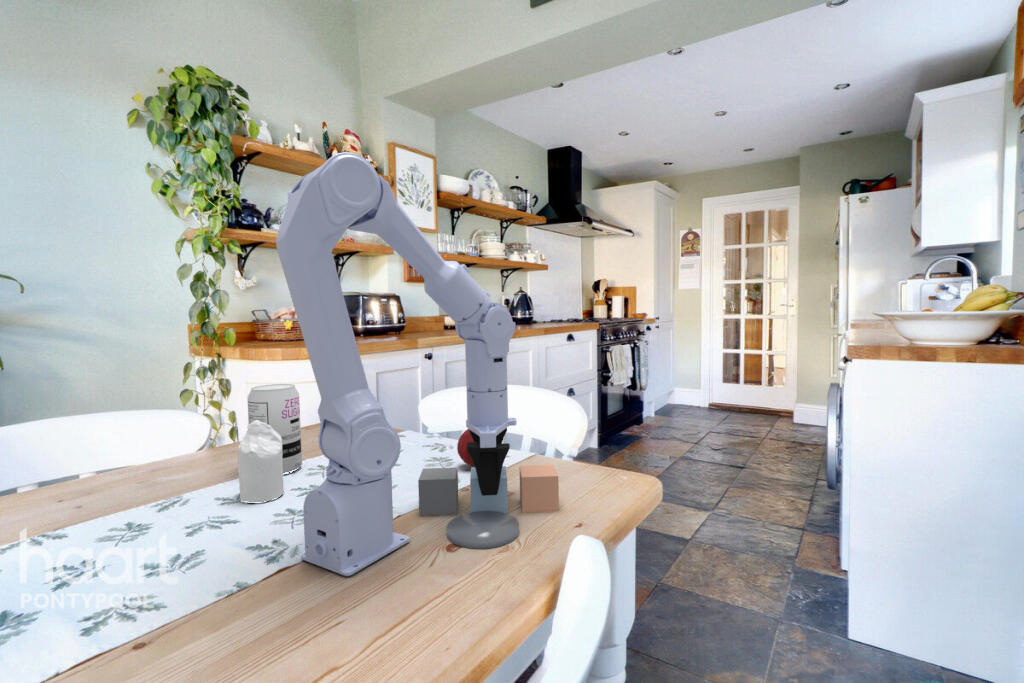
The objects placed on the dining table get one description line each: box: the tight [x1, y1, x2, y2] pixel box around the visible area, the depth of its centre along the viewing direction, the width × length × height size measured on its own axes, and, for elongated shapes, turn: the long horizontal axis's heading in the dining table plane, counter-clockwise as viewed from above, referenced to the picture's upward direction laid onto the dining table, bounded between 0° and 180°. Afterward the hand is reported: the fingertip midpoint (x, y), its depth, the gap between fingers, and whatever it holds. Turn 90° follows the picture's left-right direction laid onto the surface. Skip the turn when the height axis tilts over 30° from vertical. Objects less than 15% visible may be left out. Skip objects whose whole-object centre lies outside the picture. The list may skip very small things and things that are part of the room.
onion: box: [456, 428, 475, 467], centre depth 87 cm, size 6×6×8 cm
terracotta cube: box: [519, 464, 560, 514], centre depth 70 cm, size 5×5×5 cm
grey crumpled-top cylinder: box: [237, 420, 285, 502], centre depth 75 cm, size 6×12×6 cm
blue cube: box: [469, 465, 509, 514], centre depth 70 cm, size 5×5×5 cm
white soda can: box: [246, 383, 303, 473], centre depth 87 cm, size 8×8×15 cm
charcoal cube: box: [417, 467, 459, 517], centre depth 70 cm, size 5×5×5 cm
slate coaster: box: [446, 511, 520, 550], centre depth 62 cm, size 9×9×1 cm
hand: (489, 484), depth 70 cm, fingers open, 7 cm apart
